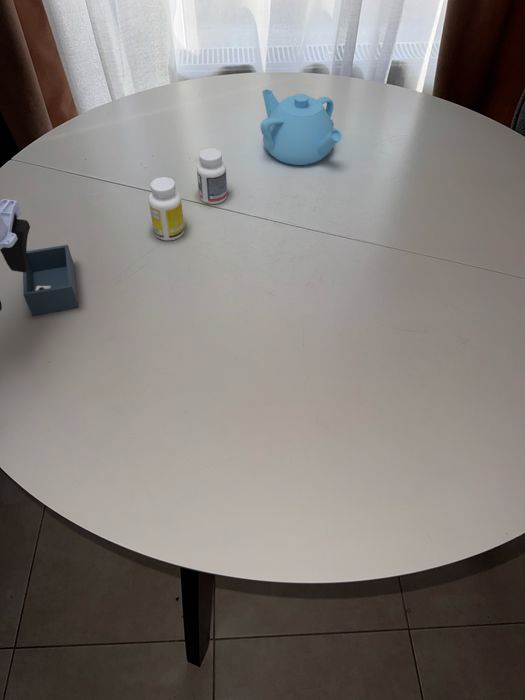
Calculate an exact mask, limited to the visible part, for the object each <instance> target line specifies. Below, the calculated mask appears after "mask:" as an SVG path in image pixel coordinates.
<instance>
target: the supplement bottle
mask: <svg viewBox="0 0 525 700" xmlns="http://www.w3.org/2000/svg"><path fill="white" fill-rule="evenodd" d="M150 191H151V193H150V194H149V196H148V205H149V211H150V217H151V223H152V229H153V233H154V235H155V237H156V238H158V239H159V240H162V241H175V240H177V239H179V238H181V237H182V236H183V234H184V233H185V221H184V213H183V205H182V198H181V195H180V192H178V190H177V188H176V182H175V181H174V180H173V178H170V177H166V176H162V177H157V178H154V179H153V180H152V181H151V183H150Z"/></svg>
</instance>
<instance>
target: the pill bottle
mask: <svg viewBox="0 0 525 700" xmlns="http://www.w3.org/2000/svg"><path fill="white" fill-rule="evenodd" d="M198 161H199V163H198V164H197V166H196V176H197V187H198V196H199V199H200V200H201V201H202V202H204V203H206V204H210V205H217V204H220V203H223V202H224V201H225V200H226V199H227V197H228V183H227V167H226V164H225V163H224V162H223V155H222V152H221V151H220V150H219V149H218V148H214V147H213V148H212V147H209V148H204V149H202V150H200V151H199V154H198Z"/></svg>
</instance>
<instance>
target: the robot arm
mask: <svg viewBox="0 0 525 700" xmlns="http://www.w3.org/2000/svg"><path fill="white" fill-rule="evenodd" d="M21 214H22V211H21V208H20V205H19V203H18V201H17V200H14V199H5V198H2V200H0V253H1V254H2V256H3V259H4V261H5V263H6V265H7V266H8V268H9V269H10V270H11V271H12V272H18V273H23V272H25V273H26V271H27V251H28V250H27V245H28V238H29V232H30V230H31V225H30V222H29V221H28V220H26V219H22V218H21V219H20V218H18V217H19V216H20V215H21ZM2 309H3V304H2V300H0V312H1V310H2Z"/></svg>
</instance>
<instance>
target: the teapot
mask: <svg viewBox="0 0 525 700" xmlns="http://www.w3.org/2000/svg"><path fill="white" fill-rule="evenodd" d="M262 97H263V102H264V106H265V110H266V115H267V118H264V119H263V120H262V121H261V122H260V131H261V132H260V133H261V134H262V144H263V146H264V148H265V149H266V151H267V152H268V153H269V154H270V155H271V156H272V157H273V158H274V159H276V160H277V161H278V162H281V163H283V164H287V165H292V166H307V165H313V164H315V163H318V162H319V161H321V160H323V159H324V158H325V157H326V156H328V155H329V154H330V152H331V151H332V149H333V147H334V146H335V145H336V144H338V142H340V141H341V140H342V137H343V136H342V132H341V131H340V130H339V129H336V128H335V129H334V125H335V124H334V120H332V115H333V112H334V101H333V100H332V99H331V98H330V97H328V96H321V97H319V98H317V99H316V98H314V97H312V96H309V95H307V94H304V93H297V94H295V95H292V96H291V95H290V96H288V97H287V96H286V97H285V98H283V99H282V100H281V101H280V102H279V100H278V99H277V98H276V95H275V94H274V92H273V90H271V89H268V88H266V89H263V90H262ZM324 104H326V107H324Z"/></svg>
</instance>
